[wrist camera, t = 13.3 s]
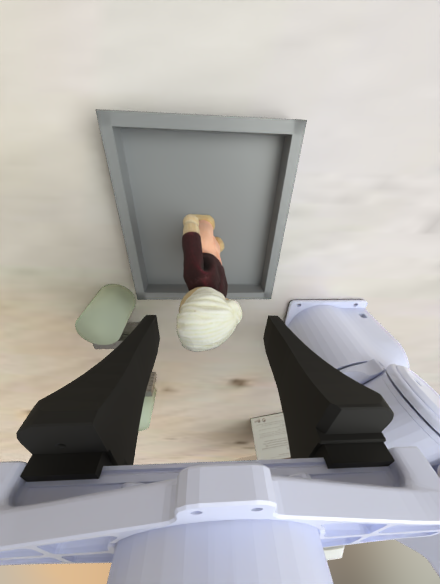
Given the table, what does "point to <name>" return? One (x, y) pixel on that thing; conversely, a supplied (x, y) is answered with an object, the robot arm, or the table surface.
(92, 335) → the pale green rounded block
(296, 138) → the tray
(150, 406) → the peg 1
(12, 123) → the table surface
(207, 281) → the grandmother figurine
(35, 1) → the table surface
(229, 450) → the table surface
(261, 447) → the supplement box
